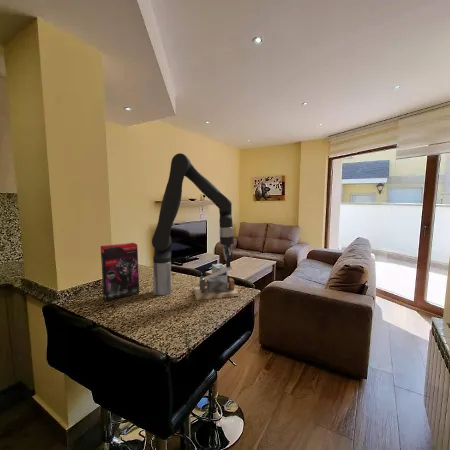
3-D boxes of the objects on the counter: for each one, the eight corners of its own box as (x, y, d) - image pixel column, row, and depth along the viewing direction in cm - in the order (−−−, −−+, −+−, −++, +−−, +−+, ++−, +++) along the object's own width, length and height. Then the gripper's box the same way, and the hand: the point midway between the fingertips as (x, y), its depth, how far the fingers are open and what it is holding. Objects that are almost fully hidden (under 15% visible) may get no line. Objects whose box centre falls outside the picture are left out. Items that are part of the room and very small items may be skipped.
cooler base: (196, 299, 127) (196, 282, 126) (193, 290, 140) (193, 274, 140) (238, 296, 132) (238, 279, 131) (231, 287, 145) (231, 272, 145)
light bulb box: (227, 284, 151) (227, 267, 150) (217, 285, 149) (217, 268, 148) (221, 279, 161) (221, 263, 160) (211, 280, 159) (211, 264, 158)
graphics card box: (105, 302, 123) (104, 247, 120) (101, 298, 128) (99, 245, 125) (139, 294, 134) (138, 243, 132) (134, 290, 139) (133, 242, 137)
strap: (201, 282, 132) (200, 279, 132) (200, 280, 136) (199, 277, 135) (232, 269, 135) (231, 266, 135) (231, 268, 139) (229, 264, 138)
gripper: (217, 234, 140) (219, 264, 142) (222, 237, 128) (224, 270, 129) (230, 233, 142) (231, 263, 144) (236, 236, 129) (238, 269, 131)
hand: (228, 266), depth 136 cm, fingers closed
